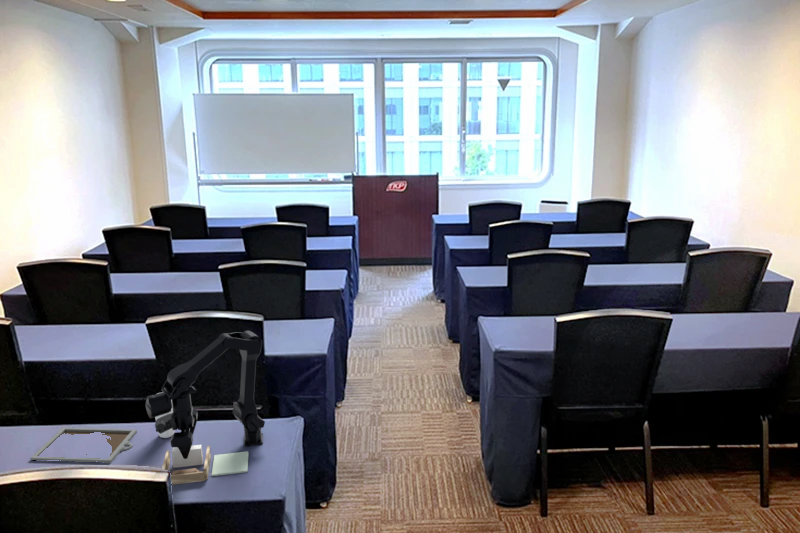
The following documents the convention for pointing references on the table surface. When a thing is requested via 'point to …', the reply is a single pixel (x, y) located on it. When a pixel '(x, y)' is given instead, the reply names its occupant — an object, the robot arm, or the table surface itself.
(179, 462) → the white block
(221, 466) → the mat
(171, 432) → the drinking glass
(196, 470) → the offcut stack
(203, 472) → the rack
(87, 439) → the table surface
